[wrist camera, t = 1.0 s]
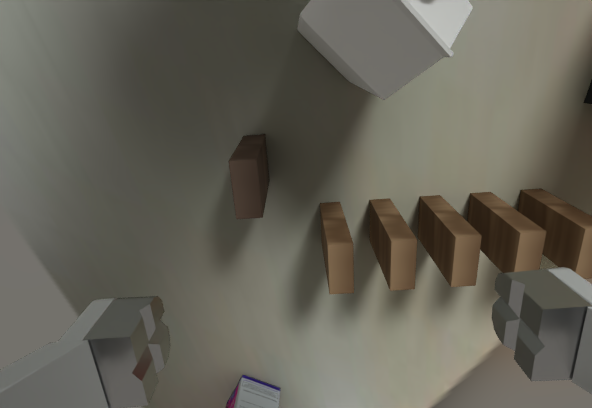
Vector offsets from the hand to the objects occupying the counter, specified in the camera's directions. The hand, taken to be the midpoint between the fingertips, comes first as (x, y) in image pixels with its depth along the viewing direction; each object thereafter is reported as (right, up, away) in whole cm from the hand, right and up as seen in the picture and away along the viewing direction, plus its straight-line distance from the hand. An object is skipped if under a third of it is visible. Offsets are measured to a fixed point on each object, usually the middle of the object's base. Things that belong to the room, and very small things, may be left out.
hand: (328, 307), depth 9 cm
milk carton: (+4, +19, +27) cm, 33 cm away
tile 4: (+14, +1, +34) cm, 37 cm away
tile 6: (+25, +2, +34) cm, 42 cm away
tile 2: (+3, 0, +34) cm, 34 cm away
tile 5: (+20, +1, +34) cm, 39 cm away
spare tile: (-5, +7, +31) cm, 32 cm away
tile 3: (+9, +1, +34) cm, 35 cm away
